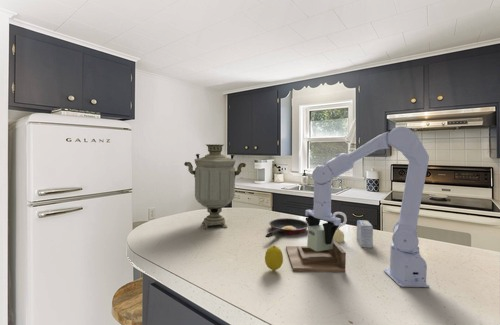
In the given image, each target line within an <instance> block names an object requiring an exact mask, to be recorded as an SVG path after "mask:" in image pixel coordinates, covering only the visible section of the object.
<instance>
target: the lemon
mask: <svg viewBox="0 0 500 325" xmlns="http://www.w3.org/2000/svg"><path fill="white" fill-rule="evenodd" d="M264 262H265V265H266V266H267V268H268V269H270V270H271V271H273V272H276V271H277V270H279V269H280V268H281V267H282V265H283V263H284V256H283V251H282V250H281V248H279V247H278V246H277V245H272V246H270V247H268V248H267V250H266V251H265V254H264Z"/></svg>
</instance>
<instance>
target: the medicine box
mask: <svg viewBox="0 0 500 325" xmlns="http://www.w3.org/2000/svg"><path fill="white" fill-rule="evenodd" d="M356 241H357V242H358V244H359V246H360V247H361V248H369V249H372V248H373V246H374V243H373V242H374V226H373V225H372V223H370V222H369V220H365V219H364V220H363V219H362V220H360V219H358V220H356Z"/></svg>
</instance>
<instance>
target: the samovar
mask: <svg viewBox="0 0 500 325" xmlns="http://www.w3.org/2000/svg"><path fill="white" fill-rule="evenodd" d="M205 146H206V147H207V151H208V152H209V153H208V154H206V155H204V156H203V157H200V153H196V154H195V157H196V158H195V159H194V164H195V165H196V166H195V169H194V166H193V164H192V162H190V161H185V162H184V166H186V167H188V168H187V169H188V172H189V173H190V174H191V175H194V176H193V177H194V197H195V200H196V201H197V203H199V204H200V205H201V206H202V207H204V208H205V207H206V209H207V210H206V212H207V213H209V214H207V215H206V217H204V218H203V221H202V224H204V226H203V227H202V228H203V229H202V230H208V228H209V226H218V225H220V226H223V227H224V228H225V229H227V228H228V225H227V224H226V218H225V217H224V216H223V215H221V214H220V213H221V212H222V211H223V210H222V209H223V208H224V207H226V206H228V205H229V204H230V203H232V202H233V200H234V199H235V190H236V189H235V188H236V186H235V185H236V177H237V176H239V175H240V174H241V173H242V168H245V167H246V166H247V164H246V163H245V162H240V163H239V164H238V165H237V169H235V164H236V159H234V157H235V154H233V153H232V154H230V158H229V157H226V155H224V154H222V151H223V147H224V144H217V143H216V144H211V143H210V144H205Z"/></svg>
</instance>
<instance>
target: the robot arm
mask: <svg viewBox="0 0 500 325" xmlns="http://www.w3.org/2000/svg"><path fill="white" fill-rule="evenodd" d="M390 147H392V149H394V150H396V151H399V152H400V153H401V154H402V155H403V156H404V158H405V159H407V161H408V165H407V166H408V167H407V170H406V172H407V173H406V177H405V183H404V189H403V194H402V199H401V205H400V211H399V215H398V221H397V223H396V224H394V226H393V228H392V232H393V234H392V236H391V239H392V240H391V241H392V242H391V243H390V250H389V251H390V252H389V269H387V268H386V269H385V268H384V269H383V272H384V273H385V274H387V276H388V277H389V278H390V279H391V280H393V281H394V282H395V283H396V284H397V285H398V286H399V287H402V288H403V287H404V288H405V287H406V288H407V287H410V288H430V285H429V283H427V267H428V265H427V261H426V260H425V259H424V258H423V257H422V255H421V254H420V253H421V252H420V247H419V244H420V243H419V241H420V240H419V238H418V237H419V236H418V232H417V229H418V221H419V220H418V219H419V216H420V214H419V213H420V209H421V203H422V199H423V198H422V197H423V191H424V187H425V184H426V182H425V180H426V177H427V173H428V172H427V171H428V167H429V162H430V161H429V160H430V155H429V153H428V151H427V150H426V148H425V146H424V145H423V143H422V141H421V140H420V138H419V135H418V134H417V133H415V131H412V129H410V128H409V127H406V126H396V127H394V128H392V129H391V130H390V131H386V132H382V134H379V135H377V136H376V137H374V138H372V139H370V140H369V141H367V142H366V143H364V144H363V145H361V146H359V147H358V148H356V149H354V150H353V151H351V152H350V153H345V152H342V153H336V154H335V155H334V156H335V157H332V159H330V160H328V161H324V162H322V165H319V166H316V168H314V169H313V171H312V174H311V175H312V176H311V177H312V179H313V181H314V182H313V183H314V184H313V185H314V186H313V209H305V212H304V213H305V215H304V216H306V217H305V221H306V222H307V223H308V225H309V226H315V225H320V222H321V221H324V223H322V225H323V227H324V232H325V244H327V245H328V244H331V243H332V239H333V236H334V234H335V232H336V230H337V228H338V227H339V225H341V224H342V218H339V217H336V215H335V216H333V213H332V181H333V179H334V178H337V177H339V176H342V175H343V174H344V173H346V172H348V171H350V170H351V169H353V168H354V165H355V163H356V162H358V161H359V160H361V159H363V158H364V157H367V156H368V155H370V154H372V153H375V152H376V151H378V150H386V149H390Z"/></svg>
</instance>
